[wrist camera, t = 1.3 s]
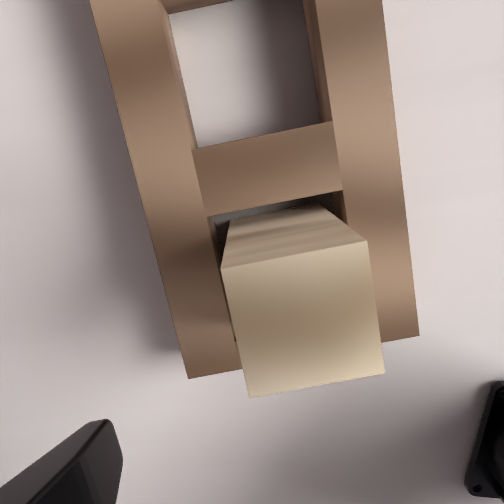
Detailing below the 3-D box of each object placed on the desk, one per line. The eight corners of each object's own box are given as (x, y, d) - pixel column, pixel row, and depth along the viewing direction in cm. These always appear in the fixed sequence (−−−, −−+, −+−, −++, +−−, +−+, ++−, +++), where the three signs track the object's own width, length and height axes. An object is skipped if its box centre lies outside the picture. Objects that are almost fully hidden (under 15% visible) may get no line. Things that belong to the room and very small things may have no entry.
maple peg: (331, 285, 20) (385, 373, 12) (247, 301, 20) (249, 398, 12) (317, 202, 19) (367, 240, 11) (230, 219, 19) (220, 269, 12)
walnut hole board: (398, 313, 20) (422, 338, 18) (194, 351, 21) (187, 382, 18) (320, -325, 15) (337, -432, 12) (41, -258, 15) (-4, -347, 12)
